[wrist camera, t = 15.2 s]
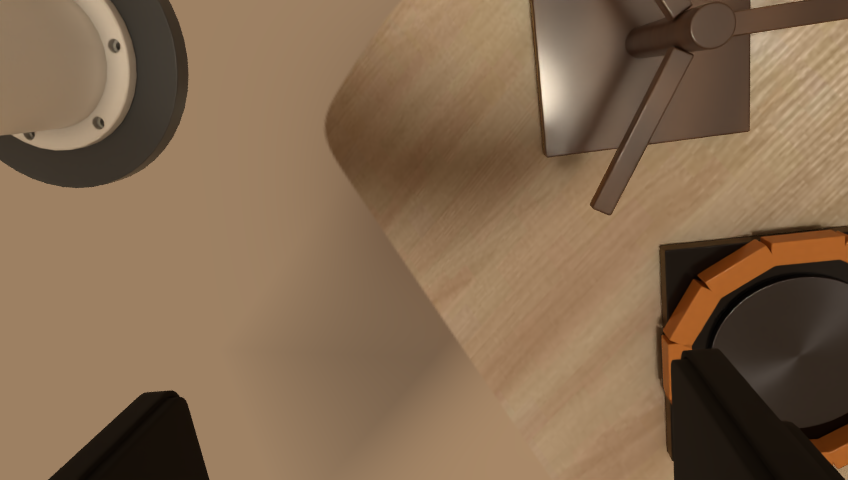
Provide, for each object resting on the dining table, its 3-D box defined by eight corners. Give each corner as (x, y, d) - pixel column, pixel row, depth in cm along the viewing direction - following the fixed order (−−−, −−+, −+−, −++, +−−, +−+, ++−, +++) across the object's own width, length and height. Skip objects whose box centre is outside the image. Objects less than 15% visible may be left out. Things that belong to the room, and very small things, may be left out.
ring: (666, 464, 40) (672, 478, 39) (657, 247, 36) (664, 254, 35) (919, 451, 38) (936, 466, 37) (942, 217, 34) (962, 223, 32)
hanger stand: (546, 182, 37) (573, 231, 25) (522, -79, 33) (542, -168, 21) (787, 152, 35) (941, 191, 23) (794, -131, 31) (985, -261, 19)
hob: (667, 451, 41) (674, 466, 40) (659, 245, 37) (667, 253, 36) (906, 438, 39) (924, 453, 38) (926, 217, 35) (947, 224, 33)
